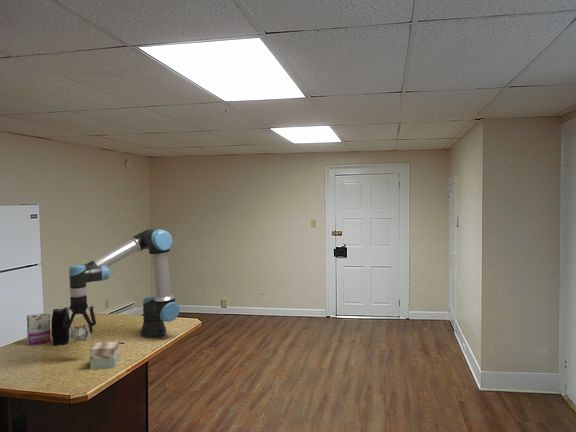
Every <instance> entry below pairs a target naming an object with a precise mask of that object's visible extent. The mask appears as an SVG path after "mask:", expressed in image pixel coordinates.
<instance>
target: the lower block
mask: <svg viewBox="0 0 576 432" xmlns="http://www.w3.org/2000/svg"><path fill="white" fill-rule="evenodd" d="M118 361H119V352H118V353H117V355H116V356H115V357H114V359H96V360H90V359H89V363H90V364H89V365H90V370H99V369H112V368H116V365H117V363H118Z"/></svg>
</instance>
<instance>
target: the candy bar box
mask: <svg viewBox="0 0 576 432" xmlns="http://www.w3.org/2000/svg"><path fill="white" fill-rule="evenodd" d="M26 327H27V328H26V329H27V330H26V332H27V338H26V339H27V345H28V346H34V345H35V346H36V345H40V344H45V343H49V342H51V315H50V313H49V312H42V313H35V314H29V315H28V314H27V315H26Z"/></svg>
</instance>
